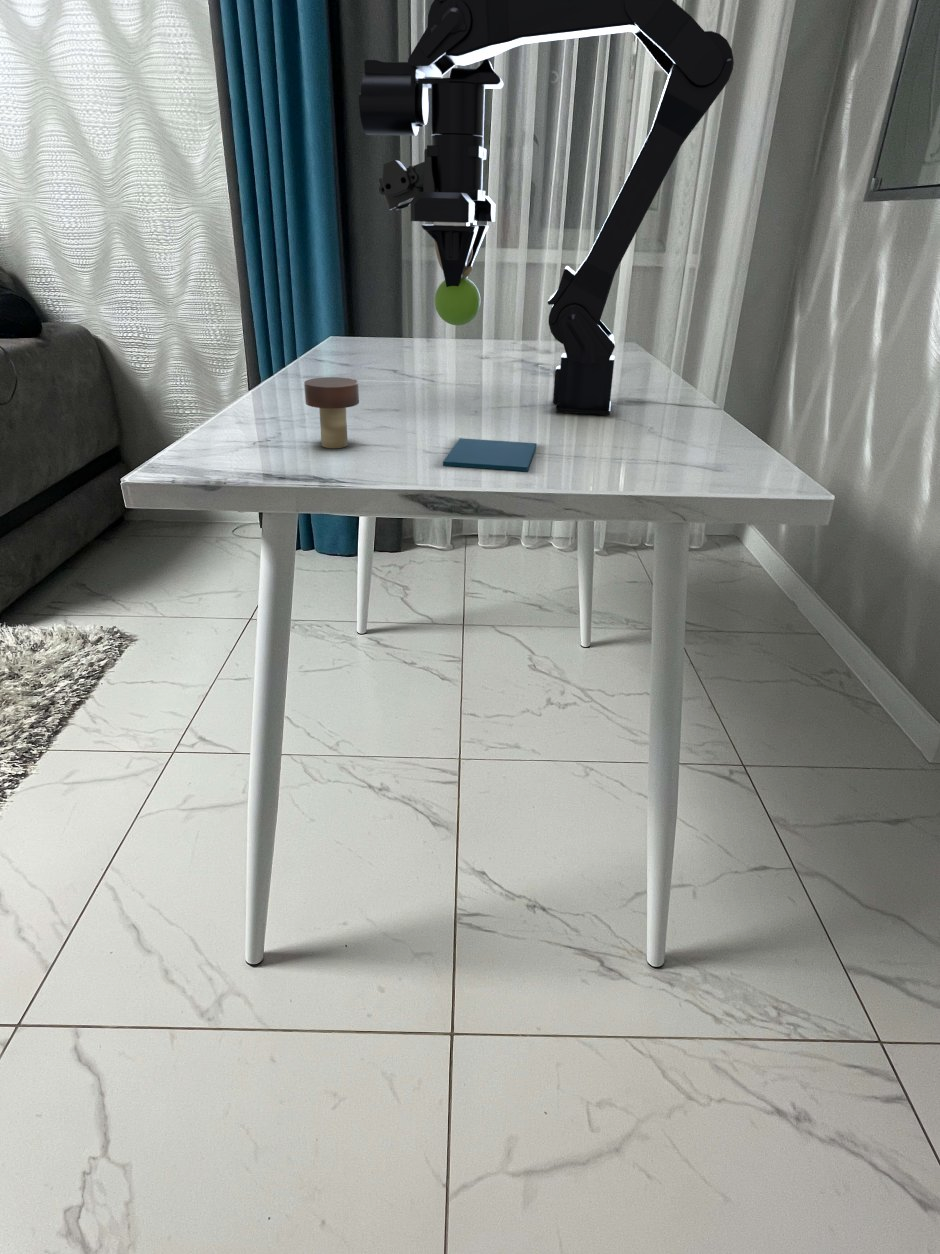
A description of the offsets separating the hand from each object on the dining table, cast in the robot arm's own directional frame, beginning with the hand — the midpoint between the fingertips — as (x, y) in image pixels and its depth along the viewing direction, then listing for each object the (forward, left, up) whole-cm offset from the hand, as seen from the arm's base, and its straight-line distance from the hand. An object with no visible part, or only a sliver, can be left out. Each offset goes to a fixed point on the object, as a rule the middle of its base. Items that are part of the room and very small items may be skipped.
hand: (455, 291), depth 95 cm
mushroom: (+8, +24, -13) cm, 28 cm away
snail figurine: (0, 0, -4) cm, 4 cm away
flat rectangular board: (-8, +24, -13) cm, 28 cm away
